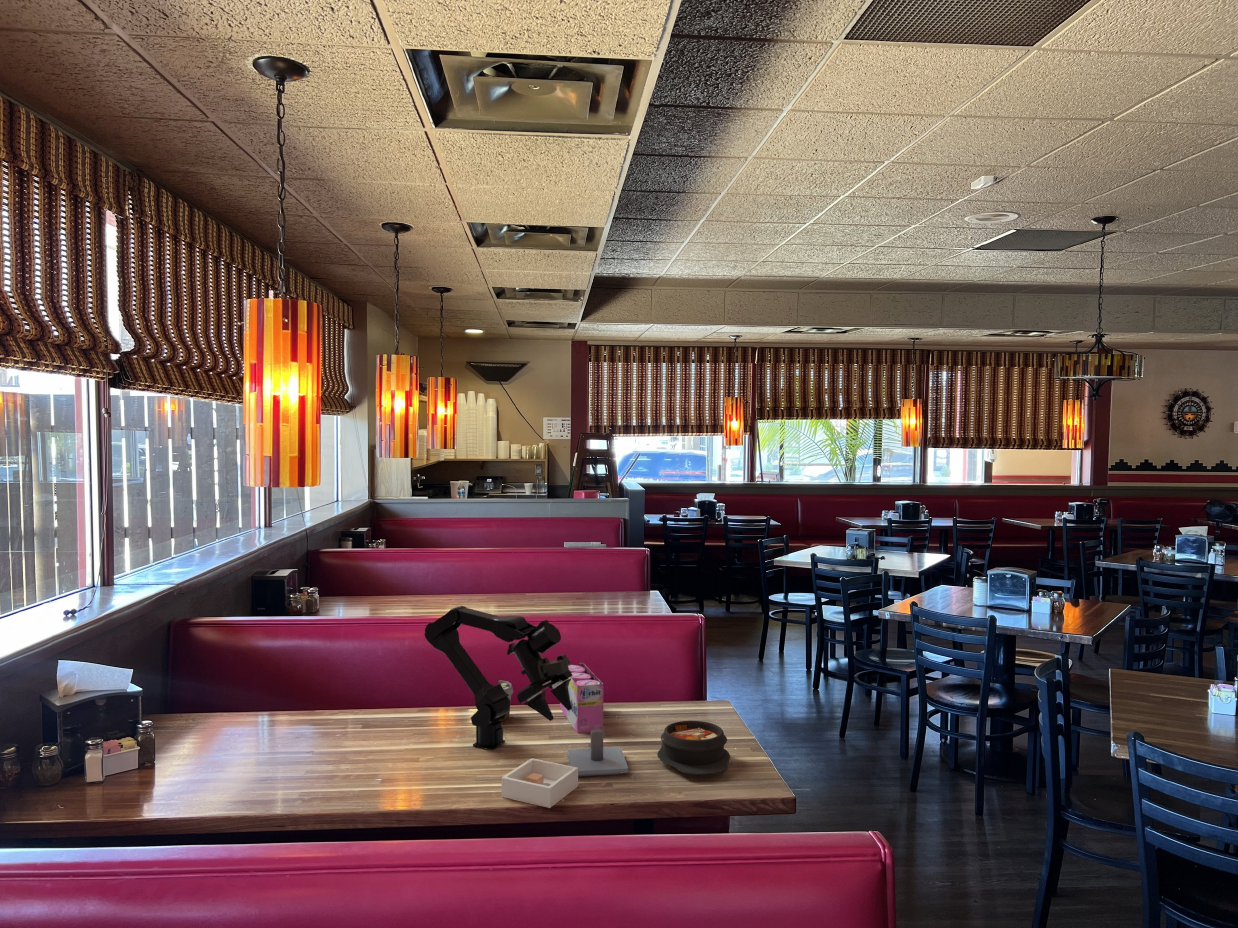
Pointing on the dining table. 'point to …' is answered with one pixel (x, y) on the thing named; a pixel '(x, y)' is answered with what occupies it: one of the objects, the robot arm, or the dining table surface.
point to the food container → (509, 690)
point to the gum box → (584, 700)
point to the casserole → (694, 748)
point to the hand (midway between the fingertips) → (561, 714)
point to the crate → (540, 782)
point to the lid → (597, 758)
